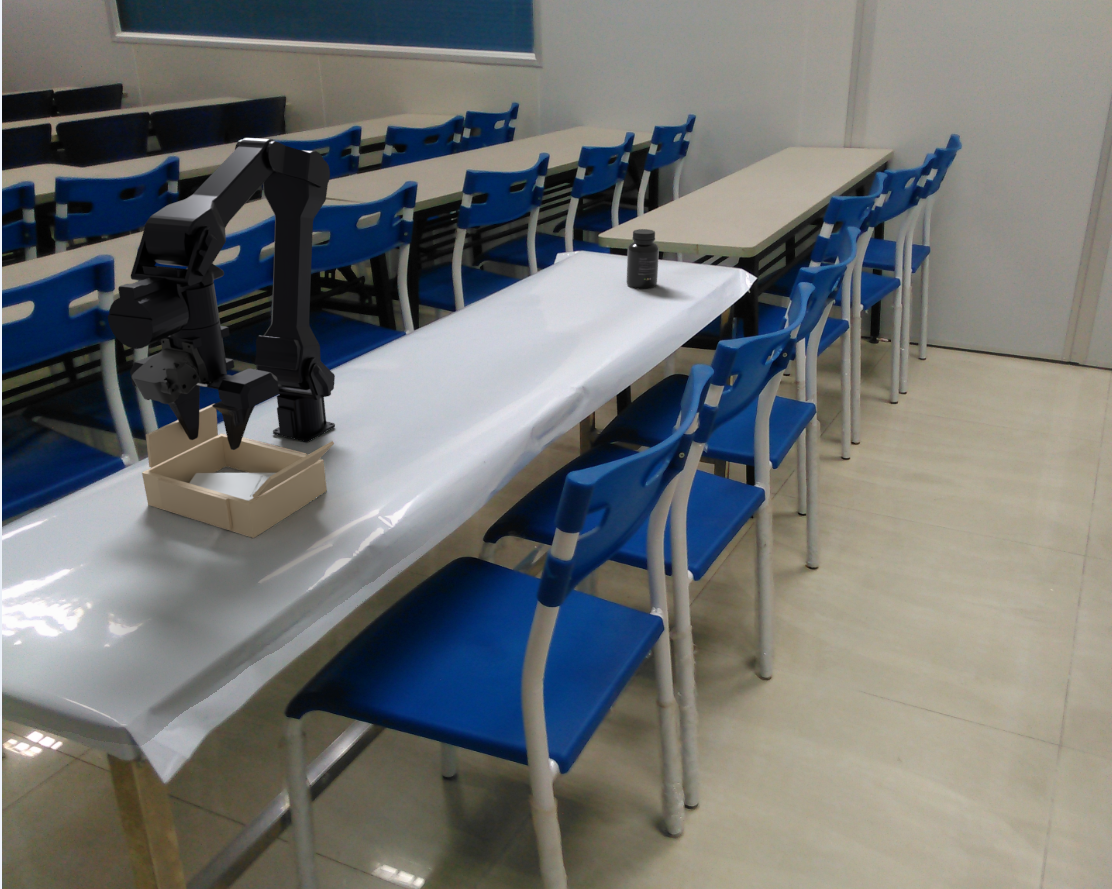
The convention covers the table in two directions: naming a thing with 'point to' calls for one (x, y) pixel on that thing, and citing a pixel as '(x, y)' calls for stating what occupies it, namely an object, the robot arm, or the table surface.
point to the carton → (245, 517)
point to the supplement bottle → (642, 260)
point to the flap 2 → (292, 469)
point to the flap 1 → (179, 437)
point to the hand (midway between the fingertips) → (214, 443)
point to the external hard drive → (232, 483)
